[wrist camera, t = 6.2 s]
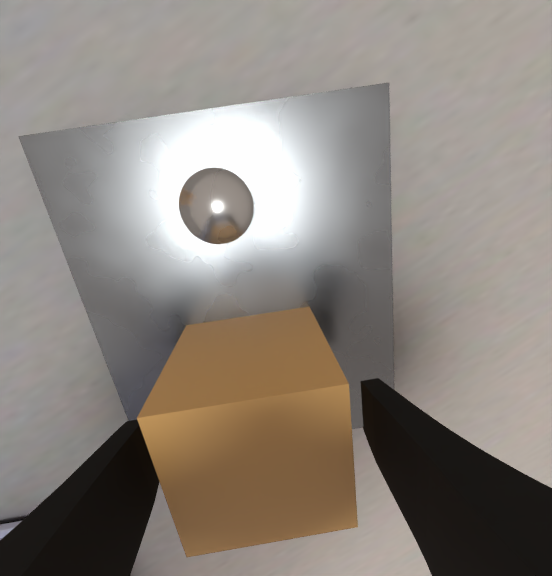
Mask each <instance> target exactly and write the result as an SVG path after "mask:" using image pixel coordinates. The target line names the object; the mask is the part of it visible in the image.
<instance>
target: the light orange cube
mask: <svg viewBox="0 0 552 576" xmlns="http://www.w3.org/2000/svg"><path fill="white" fill-rule="evenodd" d="M137 420H138V423H139V426H140V429H141V431H142V434H143V437H144V440H145V442H146V445H147V448H148V451H149V454H150V456H151V459H152V462H153V465H154V468H155V470H156V473H157V476H158V479H159V481H160V484H161V487H162V490H163V493H164V495H165V498H166V501H167V504H168V507H169V509H170V512H171V515H172V518H173V520H174V523H175V526H176V529H177V532H178V534H179V537H180V540H181V543H182V546H183V548H184V551H185V554H186V557H192V556H197V555H203V554H208V553H214V552H220V551H225V550H231V549H237V548H242V547H248V546H254V545H259V544H265V543H271V542H276V541H282V540H288V539H293V538H299V537H305V536H310V535H316V534H321V533H327V532H333V531H338V530H344V529H350V528H355V527H358V522H357V506H356V490H355V474H354V458H353V441H352V425H351V409H350V393H349V383H348V381H347V379H346V377H345V375H344V373H343V371H342V369H341V367H340V365H339V363H338V361H337V360H336V358H335V356H334V354H333V352H332V350H331V348H330V346H329V344H328V342H327V340H326V338H325V336H324V334H323V332H322V330H321V328H320V326H319V324H318V322H317V320H316V318H315V316H314V314H313V312H312V311H311V309H310V307H303V308H296V309H290V310H283V311H277V312H270V313H264V314H257V315H251V316H244V317H237V318H231V319H224V320H218V321H211V322H205V323H198V324H192V325H186V327H185V329H184V331H183V333H182V334H181V336H180V338H179V340H178V342H177V344H176V346H175V348H174V349H173V351H172V353H171V355H170V357H169V359H168V361H167V363H166V364H165V366H164V368H163V370H162V372H161V374H160V376H159V378H158V379H157V381H156V383H155V385H154V387H153V389H152V391H151V393H150V394H149V396H148V398H147V400H146V402H145V404H144V406H143V408H142V409H141V411H140V413H139V415H138V417H137Z"/></svg>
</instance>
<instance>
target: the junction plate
mask: <svg viewBox="0 0 552 576" xmlns="http://www.w3.org/2000/svg"><path fill="white" fill-rule="evenodd" d="M18 137H19V139H20V142H21V144H22V147H23V149H24V152H25V155H26V157H27V160H28V162H29V165H30V168H31V170H32V173H33V175H34V178H35V180H36V183H37V186H38V188H39V191H40V193H41V196H42V198H43V201H44V204H45V206H46V209H47V211H48V214H49V216H50V219H51V222H52V224H53V227H54V229H55V232H56V235H57V237H58V240H59V242H60V245H61V247H62V250H63V253H64V255H65V258H66V260H67V263H68V265H69V268H70V271H71V273H72V276H73V278H74V281H75V283H76V286H77V289H78V291H79V294H80V296H81V299H82V302H83V304H84V307H85V309H86V312H87V314H88V317H89V320H90V322H91V325H92V327H93V330H94V332H95V335H96V338H97V340H98V343H99V345H100V348H101V350H102V353H103V356H104V358H105V361H106V363H107V366H108V369H109V371H110V374H111V376H112V379H113V381H114V384H115V387H116V389H117V392H118V394H119V397H120V399H121V402H122V405H123V407H124V410H125V412H126V415H127V417H128V420H129V421H131V420H137V417H138V415H139V413H140V411H141V409H142V408H143V406H144V404H145V402H146V400H147V398H148V396H149V394H150V393H151V391H152V389H153V387H154V385H155V383H156V381H157V379H158V378H159V376H160V374H161V372H162V370H163V368H164V366H165V364H166V363H167V361H168V359H169V357H170V355H171V353H172V351H173V349H174V348H175V346H176V344H177V342H178V340H179V338H180V336H181V334H182V333H183V331H184V329H185V327H186V325H192V324H198V323H205V322H211V321H218V320H224V319H231V318H237V317H244V316H251V315H257V314H264V313H270V312H277V311H283V310H290V309H296V308H303V307H310V309H311V311H312V312H313V314H314V316H315V318H316V320H317V322H318V324H319V326H320V328H321V330H322V332H323V334H324V336H325V338H326V340H327V342H328V344H329V346H330V348H331V350H332V352H333V354H334V356H335V358H336V360H337V361H338V363H339V365H340V367H341V369H342V371H343V373H344V375H345V377H346V379H347V381H348V383H349V393H350V409H351V425H352V429H355V428H361V427H363V415H362V398H361V382H360V381H364V380H370V379H375V378H379V379H380V380H382V381H383V382H384V383H386V384H387V385H388V386H390V387H391V388H392V389H394V348H393V287H392V225H391V164H390V103H389V83H383V84H376V85H369V86H362V87H355V88H349V89H342V90H335V91H328V92H321V93H314V94H307V95H300V96H293V97H286V98H280V99H273V100H266V101H259V102H252V103H245V104H238V105H231V106H224V107H217V108H211V109H204V110H197V111H190V112H183V113H176V114H169V115H162V116H155V117H148V118H142V119H135V120H128V121H121V122H114V123H107V124H100V125H93V126H86V127H79V128H73V129H66V130H59V131H52V132H45V133H38V134H31V135H24V136H18Z"/></svg>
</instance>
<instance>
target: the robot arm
mask: <svg viewBox="0 0 552 576" xmlns="http://www.w3.org/2000/svg"><path fill="white" fill-rule="evenodd" d="M360 382H361V398H362V415H363V429H364V432H365V435H366V437H367V440H368V443H369V445H370V448H371V451H372V453H373V456H374V458H375V461H376V463H377V465H378V467H379V469H380V471H381V473H382V475H383V477H384V479H385V481H386V483H387V485H388V486H389V488H390V490H391V492H392V494H393V496H394V498H395V500H396V502H397V504H398V506H399V508H400V510H401V512H402V514H403V516H404V518H405V520H406V522H407V524H408V526H409V527H410V529H411V531H412V533H413V535H414V537H415V539H416V541H417V543H418V545H419V548H420V550H421V552H422V554H423V556H424V558H425V560H426V563H427V565H428V567H429V570H430V572H431V574H432V576H552V488H550V487H548V486H546V485H544V484H542V483H540V482H539V481H537V480H535V479H533V478H531V477H529V476H527V475H525V474H523V473H522V472H520V471H518V470H516V469H514V468H513V467H511V466H509V465H507V464H505V463H504V462H502V461H500V460H498V459H497V458H495V457H493V456H491V455H490V454H488V453H486V452H484V451H483V450H481V449H479V448H478V447H476V446H475V445H473V444H471V443H470V442H468V441H467V440H465V439H463V438H462V437H460V436H459V435H457V434H456V433H454V432H452V431H451V430H449V429H448V428H446V427H445V426H443V425H442V424H440V423H439V422H438V421H436V420H435V419H433V418H432V417H430V416H429V415H428V414H426V413H425V412H423V411H422V410H421V409H419V408H418V407H416V406H415V405H414V404H412V403H411V402H410V401H408V400H407V399H406V398H404V397H403V396H402V395H400V394H399V393H398V392H396V391H395V390H394V389H392V388H391V387H390V386H388V385H387V384H386V383H384V382H383V381H382V380H380V379H379V378H375V379H370V380H364V381H360ZM158 485H159V479H158V476H157V473H156V470H155V468H154V465H153V462H152V459H151V456H150V454H149V451H148V448H147V445H146V442H145V440H144V437H143V434H142V431H141V429H140V426H139V423H138V420H131V421H127V422H126V423H125V424H124V425H122V426H121V427H120V428H119V429H118V430H117V431H116V432H115V433H114V434H113V435H112V436H111V437H110V438H109V439H108V440H107V441H106V442H105V443H104V444H103V445H102V446H101V447H100V448H99V449H98V450H96V451H95V452H94V453H93V454H92V455H91V456H90V457H89V458H88V459H87V460H86V461H85V462H84V463H83V464H82V465H81V466H80V467H79V468H78V469H77V470H76V471H75V472H74V473H73V474H72V475H71V476H70V477H69V478H68V479H67V480H66V481H65V482H64V483H63V484H62V485H61V486H59V487H58V488H57V489H56V490H55V491H54V492H53V493H52V494H51V495H50V496H49V497H48V498H46V499H45V500H44V501H43V502H42V503H41V504H40V505H39V506H38V507H37V508H36V509H35V510H33V511H32V512H31V513H30V514H29V515H28V516H27V517H26V518H25V519H24V520H23V521H17V522H12V523H6V524H0V576H130V574H131V571H132V568H133V565H134V562H135V559H136V556H137V553H138V550H139V547H140V544H141V541H142V538H143V535H144V532H145V529H146V526H147V523H148V520H149V517H150V514H151V511H152V508H153V505H154V502H155V498H156V493H157V489H158Z"/></svg>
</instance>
